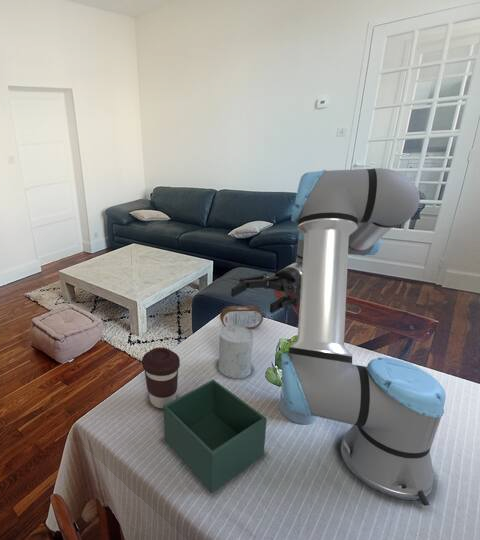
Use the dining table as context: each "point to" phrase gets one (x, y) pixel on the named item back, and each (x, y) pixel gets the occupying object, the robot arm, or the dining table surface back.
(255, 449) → the bin
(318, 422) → the dining table surface
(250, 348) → the white mottled cylinder
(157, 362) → the coffee cup
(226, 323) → the tin
